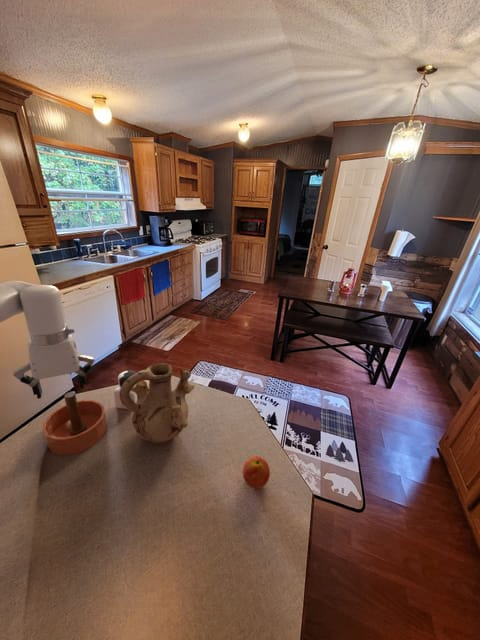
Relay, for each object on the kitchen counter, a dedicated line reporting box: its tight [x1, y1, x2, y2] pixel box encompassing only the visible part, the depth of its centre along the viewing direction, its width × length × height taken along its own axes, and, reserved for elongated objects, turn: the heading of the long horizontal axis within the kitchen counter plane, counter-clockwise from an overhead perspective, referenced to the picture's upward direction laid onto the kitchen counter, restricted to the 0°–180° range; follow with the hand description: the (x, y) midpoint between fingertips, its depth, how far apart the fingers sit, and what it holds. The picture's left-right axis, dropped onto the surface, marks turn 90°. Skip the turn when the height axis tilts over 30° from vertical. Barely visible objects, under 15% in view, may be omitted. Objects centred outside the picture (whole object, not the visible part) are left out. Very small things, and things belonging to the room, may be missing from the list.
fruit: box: [242, 455, 271, 489], centre depth 65 cm, size 7×7×8 cm
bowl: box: [42, 399, 108, 456], centre depth 75 cm, size 15×15×6 cm
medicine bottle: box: [113, 370, 137, 410], centre depth 88 cm, size 7×7×12 cm
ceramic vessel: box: [119, 362, 195, 444], centre depth 74 cm, size 18×19×25 cm
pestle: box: [63, 391, 87, 436], centre depth 73 cm, size 4×4×14 cm
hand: (61, 390), depth 70 cm, fingers open, 9 cm apart
